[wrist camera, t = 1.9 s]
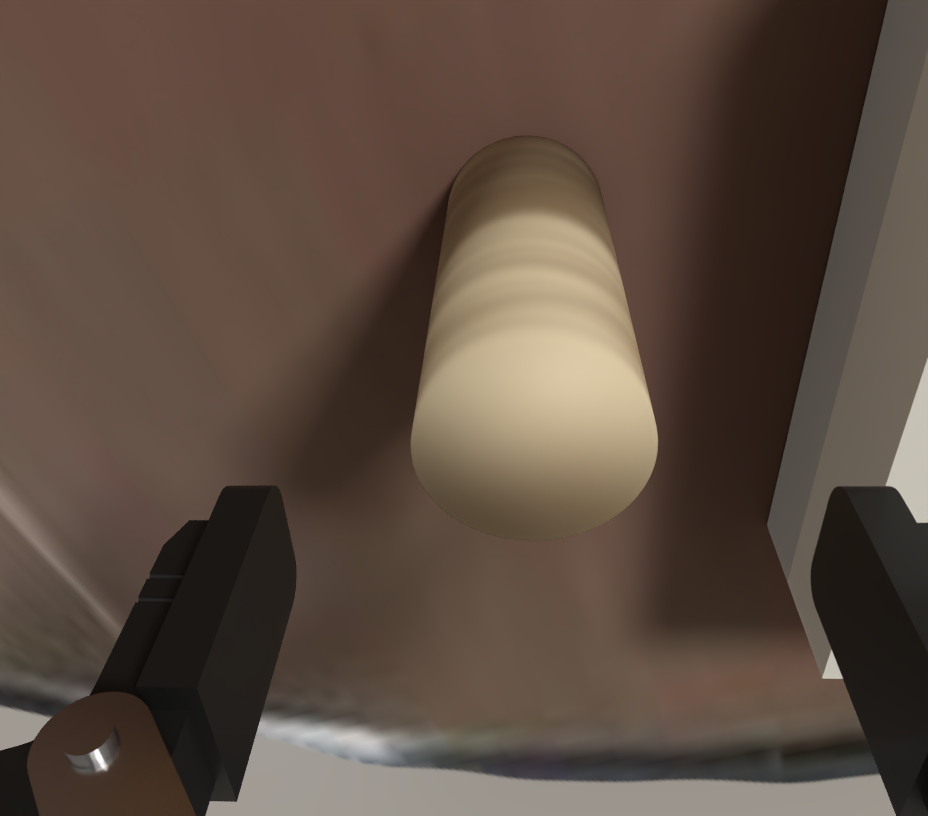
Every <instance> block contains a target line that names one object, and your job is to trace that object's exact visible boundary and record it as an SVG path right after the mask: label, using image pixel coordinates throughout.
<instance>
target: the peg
mask: <svg viewBox="0 0 928 816" xmlns="http://www.w3.org/2000/svg"><path fill="white" fill-rule="evenodd" d="M657 452H658V435H657V427H656V422H655V418H654V414H653V410H652V406H651V401H650V397H649V393H648V389H647V385H646V380H645V376H644V372H643V368H642V364H641V359H640V355H639V351H638V347H637V343H636V338H635V334H634V330H633V326H632V322H631V317H630V313H629V309H628V305H627V301H626V296H625V292H624V288H623V284H622V280H621V275H620V271H619V267H618V263H617V259H616V254H615V250H614V246H613V242H612V238H611V233H610V229H609V225H608V221H607V217H606V212H605V208H604V204H603V200H602V196H601V192H600V188H599V185H598V182H597V180H596V178H595V175H594V173H593V172H592V170H591V169H590V167H589V166H588V164H587V163H586V162H585V161H584V160H583V159H582V158H581V157H580V156H579V155H578V154H577V153H576V152H574V151H573V150H571V149H570V148H568V147H567V146H565V145H563V144H561V143H559V142H557V141H554V140H551V139H548V138H544V137H538V136H515V137H510V138H506V139H502V140H500V141H497V142H494V143H492V144H490V145H488V146H486V147H484V148H483V149H482V150H480V151H479V152H477V153H476V154H475V155H474V156H473V157H472V158H470V159H469V160H468V161H467V163H466V164H465V165H464V166H463V167H462V169H461V170H460V172H459V174H458V175H457V177H456V179H455V181H454V183H453V185H452V189H451V192H450V195H449V202H448V208H447V214H446V221H445V227H444V233H443V239H442V246H441V252H440V258H439V264H438V271H437V277H436V283H435V290H434V296H433V302H432V308H431V315H430V321H429V327H428V334H427V340H426V346H425V352H424V359H423V365H422V371H421V377H420V384H419V390H418V396H417V403H416V409H415V415H414V421H413V428H412V434H411V456H412V461H413V466H414V468H415V471H416V474H417V477H418V479H419V481H420V482H421V484H422V486H423V488H424V489H425V491H426V492H427V493H428V495H429V496H430V497H431V499H432V500H433V501H434V502H435V503H436V504H437V505H438V506H439V507H440V508H441V509H442V510H444V511H445V512H446V513H447V514H449V515H450V516H451V517H453V518H455V519H456V520H458V521H459V522H461V523H463V524H465V525H467V526H469V527H471V528H473V529H475V530H478V531H481V532H483V533H486V534H489V535H493V536H497V537H501V538H507V539H514V540H526V541H539V540H552V539H559V538H564V537H569V536H573V535H577V534H580V533H582V532H585V531H588V530H591V529H593V528H595V527H597V526H599V525H601V524H603V523H605V522H607V521H608V520H610V519H612V518H613V517H615V516H616V515H618V514H619V513H620V512H621V511H623V510H624V509H625V508H626V507H627V506H628V505H629V504H630V503H632V502H633V501H634V500H635V499H636V497H637V496H638V495H639V493H640V492H641V491H642V489H643V488H644V487H645V485H646V483H647V481H648V480H649V478H650V476H651V473H652V471H653V468H654V465H655V461H656V457H657Z"/></svg>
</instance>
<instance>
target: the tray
mask: <svg viewBox="0 0 928 816" xmlns="http://www.w3.org/2000/svg"><path fill="white" fill-rule="evenodd" d="M838 486H891V487H894V488H896V489H897V490H898V491H899V493H900V494H901V496H902V498H903V499H904V501H905V503H906V505H907V506H908V508H909V510H910V511H911V513H912V515H913V517H914V518H915V520H916V522H917V523H928V0H888V3H887V7H886V12H885V16H884V20H883V25H882V29H881V33H880V38H879V42H878V46H877V51H876V55H875V59H874V64H873V68H872V72H871V77H870V81H869V85H868V90H867V94H866V98H865V103H864V107H863V111H862V116H861V120H860V124H859V129H858V133H857V137H856V142H855V146H854V150H853V155H852V159H851V163H850V168H849V172H848V176H847V181H846V185H845V189H844V194H843V198H842V202H841V207H840V211H839V215H838V220H837V224H836V228H835V233H834V237H833V241H832V246H831V250H830V254H829V259H828V263H827V267H826V272H825V276H824V280H823V285H822V289H821V293H820V298H819V302H818V306H817V311H816V315H815V319H814V323H813V328H812V332H811V336H810V341H809V345H808V349H807V354H806V358H805V362H804V367H803V371H802V375H801V380H800V384H799V388H798V393H797V397H796V401H795V406H794V410H793V414H792V419H791V423H790V427H789V432H788V436H787V440H786V445H785V449H784V453H783V458H782V462H781V466H780V471H779V475H778V479H777V484H776V488H775V492H774V497H773V501H772V505H771V510H770V514H769V518H768V523H767V527H768V530H769V533H770V535H771V538H772V541H773V544H774V547H775V549H776V552H777V555H778V558H779V560H780V563H781V566H782V569H783V572H784V574H785V577H786V580H787V583H788V585H789V588H790V591H791V594H792V596H793V599H794V602H795V605H796V608H797V610H798V613H799V616H800V619H801V621H802V624H803V627H804V630H805V633H806V635H807V638H808V641H809V644H810V646H811V649H812V652H813V655H814V658H815V660H816V663H817V666H818V669H819V671H820V674H821V677H822V678H830V679H843V677H842V675H841V672H840V670H839V667H838V665H837V662H836V659H835V657H834V654H833V652H832V649H831V647H830V644H829V642H828V639H827V636H826V634H825V631H824V629H823V626H822V624H821V621H820V618H819V616H818V613H817V611H816V608H815V605H814V601H813V597H812V591H811V565H812V560H813V556H814V553H815V549H816V545H817V541H818V538H819V534H820V530H821V526H822V523H823V519H824V515H825V511H826V508H827V504H828V500H829V497H830V494H831V492H832V490H833V489H834V488H835V487H838Z"/></svg>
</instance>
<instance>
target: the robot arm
mask: <svg viewBox="0 0 928 816" xmlns="http://www.w3.org/2000/svg"><path fill="white" fill-rule="evenodd" d="M295 590H296V561H295V555H294V551H293V546H292V542H291V537H290V532H289V528H288V523H287V518H286V514H285V509H284V505H283V500H282V496H281V493H280V490H279V488H278V487H277V486H226V487H225V488H224V489H223V490H222V492H221V493H220V496H219V498H218V500H217V502H216V505H215V507H214V509H213V511H212V514H211V516H210V518H209V520H189V521H188V522H187V523H186V524H185V525H184V526H183V527H182V528H181V529H180V530H179V531H178V532H177V533H176V534H175V535H174V536H173V537H172V538H171V539H169V540H168V541H167V542H166V543H165V544H164V545H163V547H162V549H161V551H160V553H159V556H158V558H157V560H156V562H155V564H154V566H153V568H152V570H151V572H150V579H147V580H146V582H145V584H144V586H143V588H142V590H141V592H140V594H139V596H138V597H139V601H138V603H135V605H134V607H133V609H132V611H131V613H130V615H129V617H128V619H127V621H126V623H125V625H124V627H123V629H122V631H121V633H120V635H119V637H118V640H117V642H116V644H115V646H114V648H113V650H112V652H111V654H110V656H109V658H108V660H107V662H106V664H105V666H104V668H103V670H102V672H101V674H100V676H99V678H98V681H97V683H96V685H95V687H94V689H93V690H92V692H91V694H90V695H89V696H87V697H84V698H82V699H80V700H77V701H75V702H74V703H72V704H70V705H68V706H66V707H65V708H64V709H62V710H61V711H59V712H58V713H57V714H56V715H55V716H53V717H52V718H51V719H50V720H49V721H48V722H47V723H46V724H45V725H44V727H43V728H42V729H41V730H40V732H39V733H38V735H37V736H36V738H35V739H34V740H33V741H31V742H28V743H25V744H22V745H19V746H16V747H12V748H8V749H5V750H1V751H0V816H205V814H206V811H207V808H208V805H209V801H234V802H237V799H238V795H239V792H240V788H241V785H242V781H243V778H244V774H245V771H246V767H247V764H248V760H249V756H250V753H251V749H252V745H253V742H254V739H255V735H256V732H257V728H258V725H259V721H260V718H261V714H262V711H263V707H264V704H265V700H266V697H267V693H268V690H269V686H270V683H271V679H272V675H273V672H274V668H275V665H276V661H277V658H278V654H279V651H280V647H281V644H282V640H283V637H284V633H285V630H286V626H287V623H288V619H289V616H290V612H291V609H292V605H293V601H294V597H295ZM811 591H812V597H813V601H814V605H815V608H816V611H817V613H818V616H819V618H820V621H821V624H822V626H823V629H824V631H825V634H826V636H827V639H828V642H829V644H830V647H831V649H832V652H833V654H834V657H835V659H836V662H837V665H838V667H839V670H840V672H841V675H842V677H843V680H844V683H845V685H846V688H847V690H848V693H849V695H850V698H851V701H852V703H853V706H854V708H855V711H856V713H857V716H858V719H859V721H860V724H861V726H862V729H863V731H864V734H865V737H866V739H867V742H868V744H869V747H870V749H871V752H872V755H873V757H874V760H875V762H876V765H877V767H878V770H879V773H880V775H881V778H882V780H883V783H884V785H885V788H886V790H887V793H888V796H889V798H890V801H891V803H892V806H893V809H894V811H895V813H896V816H928V523H917V522H916V520H915V518H914V517H913V515H912V513H911V511H910V510H909V508H908V506H907V505H906V503H905V501H904V499H903V498H902V496H901V494H900V493H899V491H898V490H897V489H896V488H894V487H891V486H838V487H835V488H834V489H833V490H832V492H831V494H830V497H829V500H828V504H827V508H826V511H825V515H824V519H823V523H822V526H821V530H820V534H819V538H818V541H817V545H816V549H815V553H814V556H813V560H812V565H811Z"/></svg>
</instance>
